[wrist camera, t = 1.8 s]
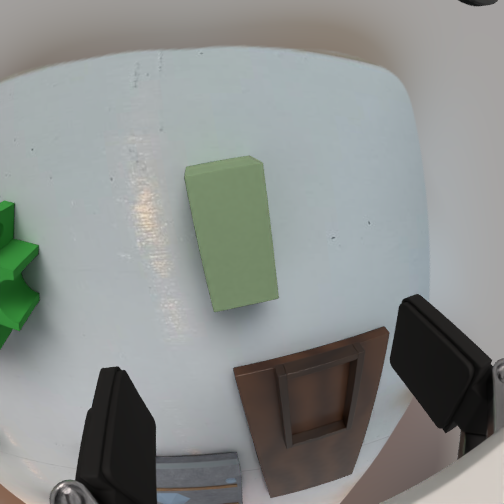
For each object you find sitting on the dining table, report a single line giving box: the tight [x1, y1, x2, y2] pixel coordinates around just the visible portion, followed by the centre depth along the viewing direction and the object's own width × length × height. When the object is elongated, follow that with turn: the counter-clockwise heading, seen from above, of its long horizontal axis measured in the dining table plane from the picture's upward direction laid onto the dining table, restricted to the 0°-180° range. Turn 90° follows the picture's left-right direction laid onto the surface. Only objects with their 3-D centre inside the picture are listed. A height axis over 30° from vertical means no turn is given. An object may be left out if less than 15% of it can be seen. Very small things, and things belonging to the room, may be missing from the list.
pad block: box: [184, 156, 279, 312], centre depth 20 cm, size 4×9×4 cm, turn 8°
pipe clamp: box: [0, 201, 40, 349], centre depth 18 cm, size 11×4×5 cm, turn 162°
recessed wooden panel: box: [233, 327, 389, 498], centre depth 35 cm, size 16×38×3 cm, turn 8°
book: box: [156, 452, 243, 504], centre depth 33 cm, size 21×16×5 cm
